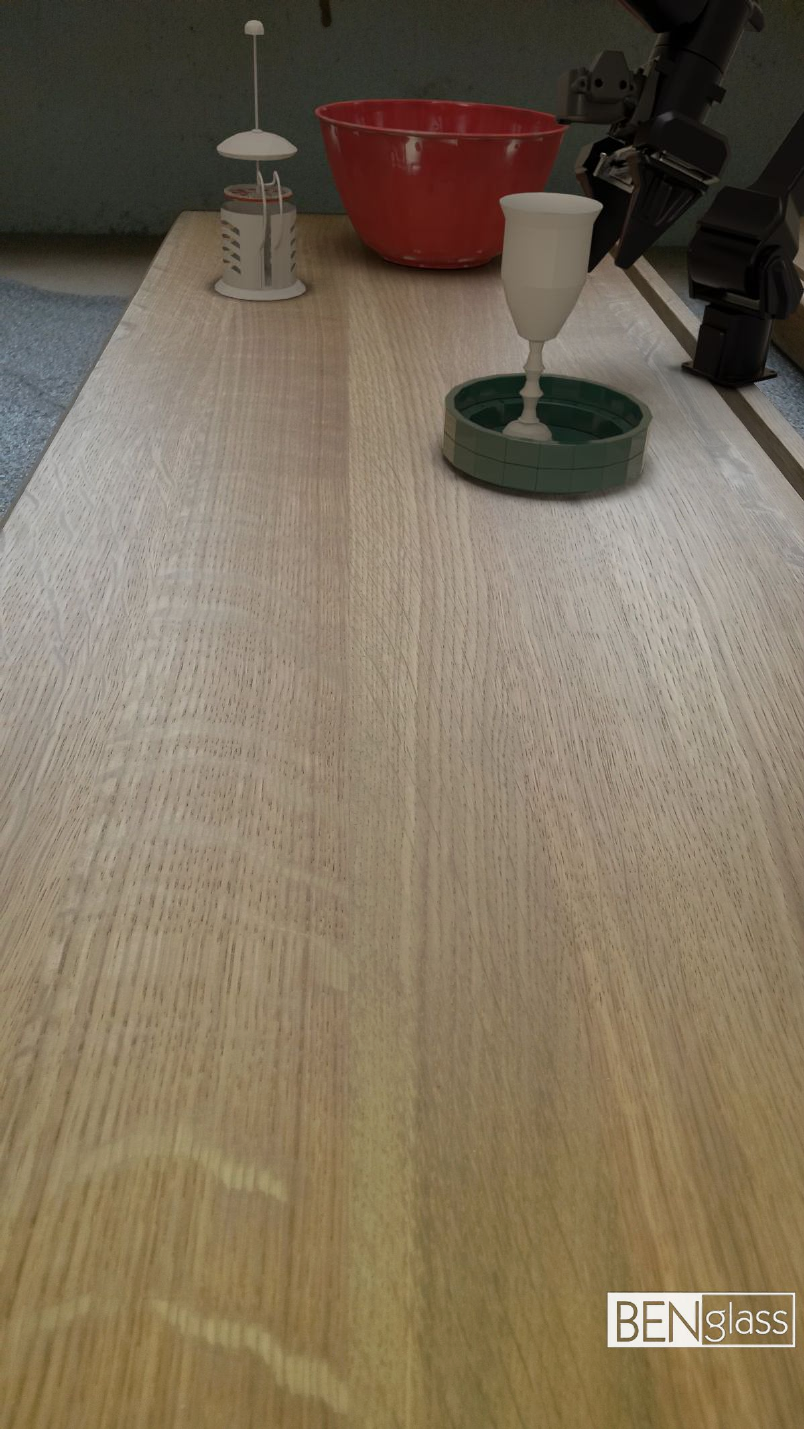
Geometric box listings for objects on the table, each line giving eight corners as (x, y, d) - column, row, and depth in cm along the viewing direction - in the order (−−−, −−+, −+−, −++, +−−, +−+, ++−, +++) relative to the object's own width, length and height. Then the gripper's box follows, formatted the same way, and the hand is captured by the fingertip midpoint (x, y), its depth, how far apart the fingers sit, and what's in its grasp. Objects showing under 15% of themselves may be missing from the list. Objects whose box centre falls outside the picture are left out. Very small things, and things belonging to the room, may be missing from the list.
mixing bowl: (338, 221, 158) (340, 89, 150) (557, 238, 156) (572, 104, 147) (292, 275, 135) (291, 122, 126) (549, 296, 132) (566, 141, 124)
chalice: (523, 431, 96) (548, 188, 86) (590, 457, 92) (624, 206, 82) (459, 452, 92) (477, 199, 82) (525, 481, 88) (553, 218, 78)
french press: (293, 274, 136) (291, 16, 122) (321, 302, 127) (322, 27, 113) (206, 277, 133) (193, 14, 119) (227, 307, 124) (217, 25, 110)
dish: (550, 411, 102) (556, 361, 100) (685, 473, 92) (695, 420, 90) (402, 445, 95) (404, 392, 92) (531, 517, 84) (537, 460, 82)
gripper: (558, 40, 98) (482, 233, 102) (636, -17, 80) (541, 218, 84) (677, 102, 101) (598, 287, 104) (777, 59, 83) (678, 283, 87)
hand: (601, 269), depth 95 cm, fingers open, 9 cm apart
